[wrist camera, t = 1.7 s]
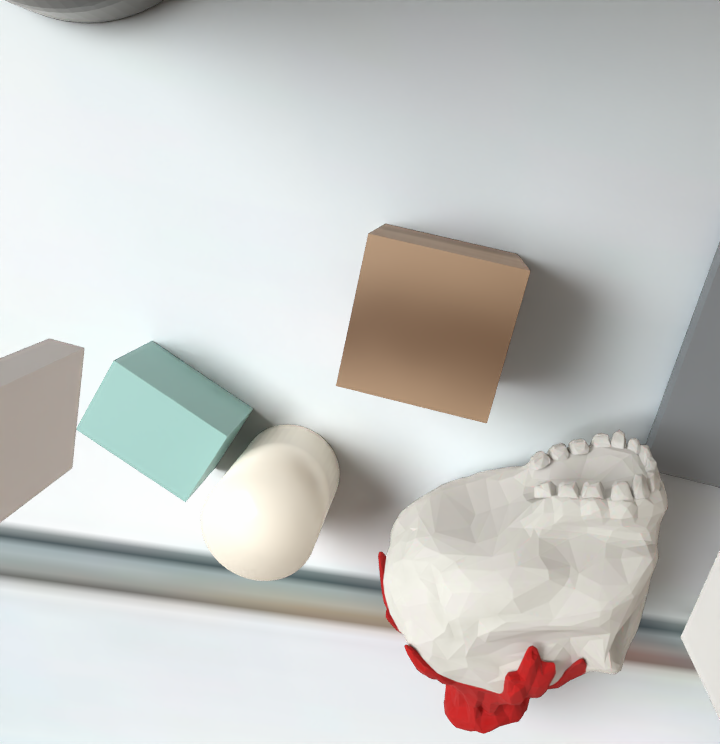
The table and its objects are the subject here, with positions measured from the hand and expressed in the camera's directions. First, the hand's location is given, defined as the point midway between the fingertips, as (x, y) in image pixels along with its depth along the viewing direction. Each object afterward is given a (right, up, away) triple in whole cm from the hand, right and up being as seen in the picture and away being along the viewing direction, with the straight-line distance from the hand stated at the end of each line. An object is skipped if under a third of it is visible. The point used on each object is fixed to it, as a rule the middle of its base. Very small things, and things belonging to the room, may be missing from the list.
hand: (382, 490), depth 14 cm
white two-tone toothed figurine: (+7, -6, +21) cm, 22 cm away
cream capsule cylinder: (-4, -3, +21) cm, 21 cm away
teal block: (-9, +1, +21) cm, 23 cm away
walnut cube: (+3, +5, +18) cm, 19 cm away
